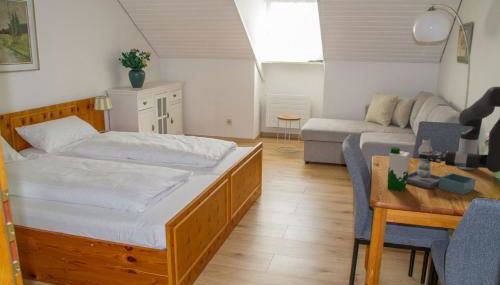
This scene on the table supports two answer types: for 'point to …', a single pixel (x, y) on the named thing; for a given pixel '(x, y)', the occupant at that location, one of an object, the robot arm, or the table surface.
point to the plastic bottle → (424, 164)
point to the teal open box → (457, 183)
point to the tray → (423, 180)
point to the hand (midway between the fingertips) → (420, 154)
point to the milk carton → (398, 169)
